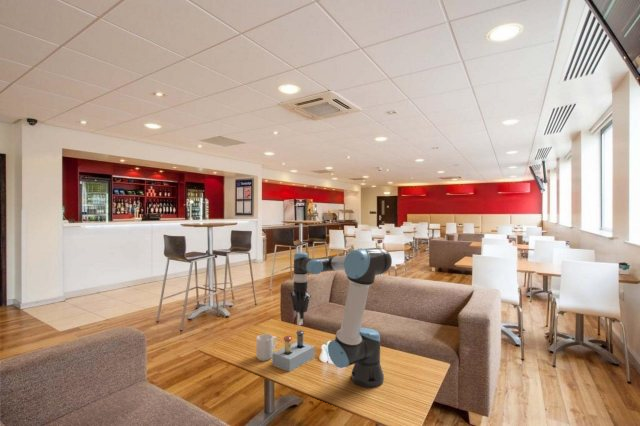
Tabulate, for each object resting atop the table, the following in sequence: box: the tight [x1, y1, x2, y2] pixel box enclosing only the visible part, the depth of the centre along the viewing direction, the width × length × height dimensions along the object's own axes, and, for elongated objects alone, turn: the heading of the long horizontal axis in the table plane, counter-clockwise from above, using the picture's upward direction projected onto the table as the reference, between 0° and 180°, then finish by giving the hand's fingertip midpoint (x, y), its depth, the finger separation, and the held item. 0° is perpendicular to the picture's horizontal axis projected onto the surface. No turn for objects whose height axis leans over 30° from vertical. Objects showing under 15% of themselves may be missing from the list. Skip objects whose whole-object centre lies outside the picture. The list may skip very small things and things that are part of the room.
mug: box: [256, 333, 278, 362], centre depth 174 cm, size 12×9×11 cm
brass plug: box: [283, 335, 292, 355], centre depth 165 cm, size 4×4×9 cm
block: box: [271, 341, 315, 372], centre depth 169 cm, size 12×20×6 cm, turn 144°
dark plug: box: [296, 330, 305, 349], centre depth 173 cm, size 4×4×9 cm
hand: (299, 324), depth 174 cm, fingers closed
